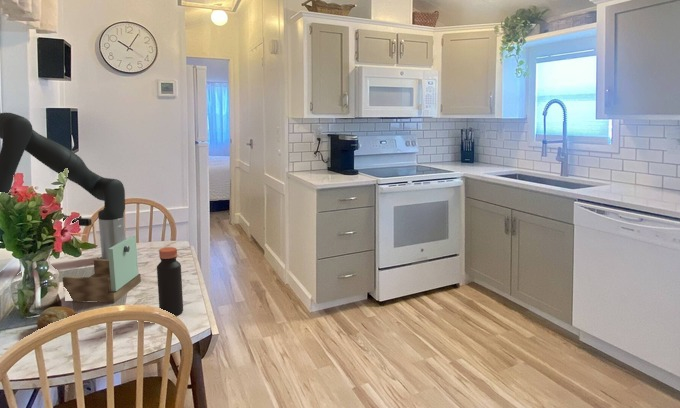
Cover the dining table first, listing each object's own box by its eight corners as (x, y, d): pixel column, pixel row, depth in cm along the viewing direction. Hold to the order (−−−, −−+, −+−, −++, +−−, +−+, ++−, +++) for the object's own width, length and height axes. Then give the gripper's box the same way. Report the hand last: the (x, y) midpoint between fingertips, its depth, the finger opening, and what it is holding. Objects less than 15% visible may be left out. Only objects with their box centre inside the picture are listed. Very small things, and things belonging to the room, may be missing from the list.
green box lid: (111, 291, 150) (107, 249, 147) (134, 274, 166) (131, 235, 163) (119, 291, 150) (115, 249, 147) (141, 274, 165) (138, 236, 163)
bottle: (157, 311, 143) (153, 248, 139) (179, 306, 147) (176, 245, 143) (162, 319, 138) (158, 254, 134) (186, 314, 141) (182, 250, 138)
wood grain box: (64, 301, 149) (62, 277, 148) (96, 280, 168) (94, 259, 166) (114, 302, 149) (112, 278, 147) (140, 281, 168) (139, 260, 166)
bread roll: (41, 337, 134) (24, 316, 130) (75, 313, 139) (60, 293, 135) (50, 349, 127) (32, 328, 123) (86, 324, 132) (70, 303, 129)
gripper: (23, 214, 147) (77, 215, 147) (49, 206, 160) (100, 207, 160) (25, 237, 149) (79, 238, 148) (52, 227, 162) (101, 228, 161)
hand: (90, 222), depth 154 cm, fingers closed
